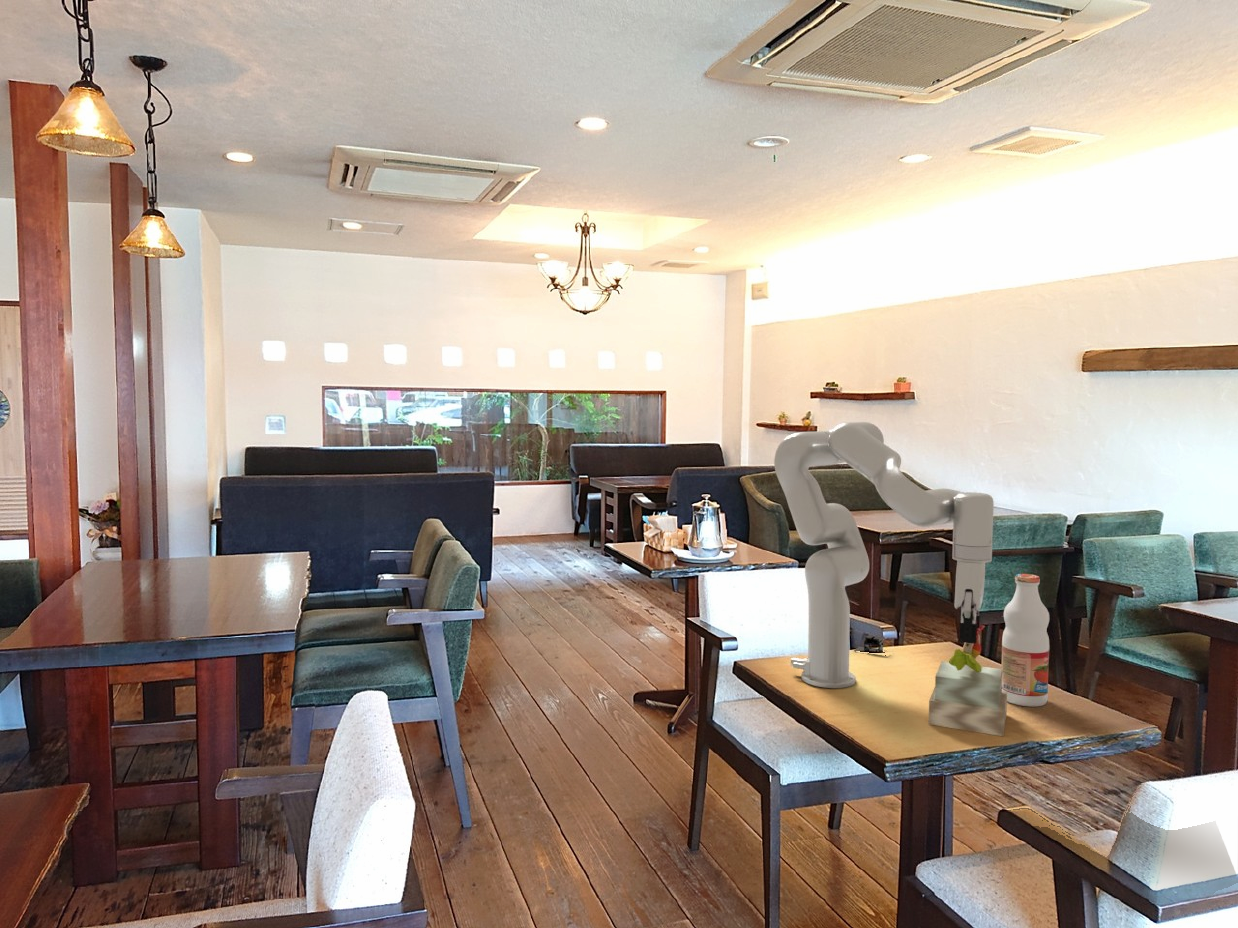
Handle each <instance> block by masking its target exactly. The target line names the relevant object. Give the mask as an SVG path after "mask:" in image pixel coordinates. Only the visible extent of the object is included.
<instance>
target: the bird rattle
mask: <svg viewBox="0 0 1238 928" xmlns="http://www.w3.org/2000/svg"><path fill="white" fill-rule="evenodd" d="M976 624H977V622H976ZM985 627H986V626H985V624H982V625H979V628H977V641H976V643H975V644H973V643H965V642H963V643H964V644H963V647H962V650H961V649H959V648H956V649H955V650H954V652H953V656H952V657H950V658H949V660H948V662H949V663H950V664H951V665H953V666H956V668H957V670H961V669H962V668H963V667H964V666H965V665H967V666H968V667H970V668H971V669H973V670H974V671H975V672H981V671H982V667H983V666H982V665H980V663H979V662H978V661H977V660H976V659H977V657H979V656H980V655H981V652H982V646H981V635H980V632H981V631H983V630H984V628H985Z"/></svg>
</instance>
